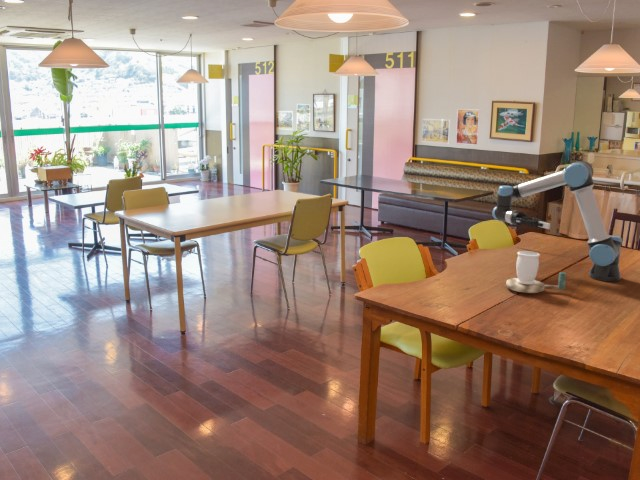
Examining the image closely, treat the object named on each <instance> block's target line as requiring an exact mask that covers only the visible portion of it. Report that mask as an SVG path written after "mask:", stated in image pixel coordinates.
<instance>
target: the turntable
mask: <svg viewBox="0 0 640 480" xmlns="http://www.w3.org/2000/svg"><path fill="white" fill-rule="evenodd" d="M566 278H567V273H566V272H565V271H562V272H561V271H560V272H559V273H558V281H557V284H545V283H543V282H542V281H540V280H537V279H534V282H535V283H534V284H531V285H527V284H521V283H518V282H517V280H518V277H512V278H508V279H507V280H506V283H505V287H506V288H508V289H509V290H511V291H514V292H519V293H524V294H536V293H537V294H539V293H542V292H543V291H545V290H561V291H565V289H566V288H565V286H566V280H567V279H566Z"/></svg>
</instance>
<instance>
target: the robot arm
mask: <svg viewBox="0 0 640 480" xmlns="http://www.w3.org/2000/svg"><path fill="white" fill-rule="evenodd" d="M593 176H594V167H593V166H592V164H591V163H589V162H588V161H586V160H579V161H576V162H573V163H570V164H569V165H568V166H566V167H564V168H563V170H560V171H556V172H554V173H550V174H547V175H544V176H541V177H537V178H535V179H532V180H528V181H526V182H523V183H519V184H516V185H512V186H511V185H500V186H498V191H497V199H496V200H497V204H496V206H494V207H493V209H492V212H491V215H492V217H493V219H495V220H497V221H499V222H504V223H509V224H510V225H515V226H520V227H521V226H523V225H525V226H529V227H535V228H536V229H538V227H539V228H542V229H545V230H546V229H547V230H550V229H551V223H550V222H549V223H548V222H546V221H544V220H543V219H540V218H537V217H535V216H533V217H531V216H528V215H527V214H526V213H524V212H523V211H519V210H516V209H511V208H512V202H513V201H514V200H518V199H522V198H524V197H527V196H532V195H535V194H537V193H540V192H545V191H548V190H551V189H554V188H558V187H560V186H565V185H567V186H568V188H569V191H570V193H572V194H573V195H574V196H575V200H576V203H577V205H578V208H579V211H580V213H581V217H582V220H583V221H582V222H583V224H584V226H585V231H586V233H587V236H588V240H587V242H586V243H587V246H588V249H589V253H588V254H589V255H588V256H589V258H590V259H589V260H590V261H591V262H592V263H593V264H592V266H591V268H590V271H589V273H588V275H589V278H591V279H593V280H597V281H600V282H601V281H603V282H611V283H612V282H619V281H620V280H621V271H620V266H619V264H620V256H621V248H622V244H623V242H622V241H623V238H622V237H620V236H616V235H610V234H608V232H607V229H606V227H605V224H604V221H603V218H602V215H601V212H600V208H599V205H598V202H597V199H596V196H595V193H594V190H593V188H594V186H595V182H594V180H593Z"/></svg>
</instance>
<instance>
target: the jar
mask: <svg viewBox="0 0 640 480" xmlns="http://www.w3.org/2000/svg"><path fill="white" fill-rule="evenodd" d="M516 254H517V258H516V263H515V265H516V266H515V267H516V276H517V277H516V278H518V280H517V282H518V283H521V284H527V285H531V284H534V283H535V282H534V280H536V277H537V275H538V272H539V266H540V264H539V263H540V259H539V257H540V256H541V255H540V253H538V252H537V251H530V250H520V251H517V253H516Z"/></svg>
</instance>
